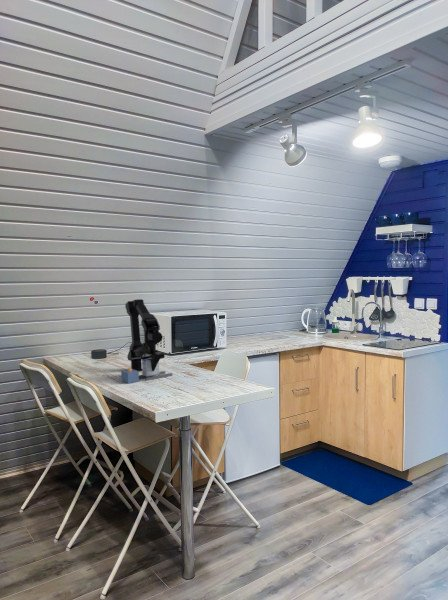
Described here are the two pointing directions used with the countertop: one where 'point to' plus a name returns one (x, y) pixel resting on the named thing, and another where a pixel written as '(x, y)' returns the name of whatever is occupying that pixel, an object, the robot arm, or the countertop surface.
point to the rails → (156, 376)
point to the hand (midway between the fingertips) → (150, 370)
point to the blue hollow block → (130, 376)
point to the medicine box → (149, 368)
